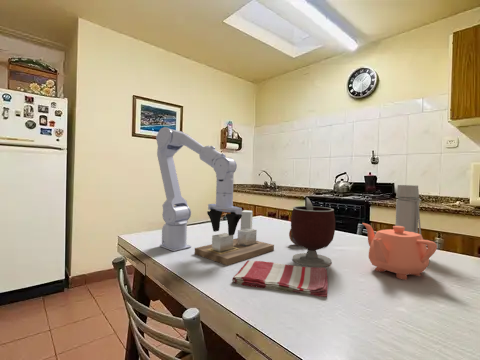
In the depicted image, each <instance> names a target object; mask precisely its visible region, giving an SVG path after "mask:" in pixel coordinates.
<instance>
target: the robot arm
mask: <svg viewBox="0 0 480 360" xmlns="http://www.w3.org/2000/svg"><path fill="white" fill-rule="evenodd" d="M155 139H156V144H157V150H156V157H157V161H158V166H159V169H160V174H161V179H162V184H163V188H164V193H165V198H166V200H165V201H164V202H163V204H162V213H161V214H162V219H163V221H164V224H163V226H162V228H161V244H159V247H161V248H164V249H167V250H170V251H172V252H174V251H175V252H177V251H180V250H185V249H190V248H192V245H189V244H187V238H188V237H187V235H188V232H187V231H188V224H187V223H189V220H190V218H191V217H192V216H191V215H192V210H191V208H190V206H189V205H188V201H187V200H186V199H185V198H184V197H183V196H182V193H181V192H182V191H181V188H180V183H179V179H178V173H177V169H176V165H175V161H174V156H175V154H176V153H177V152H179V151H180V150H181V149H182V148H183V147H184V146H185V147H187V148H188V149H189V150H191V151H193V152H194V153H196V154H198V155H199V159H200V160H201V161H202V162H204V163H205V164H206V165H208V166H210V167H211V168H213V171H214V172H215V178H216V182H215V183H216V186H215V190H216V191H215V203H208V204H207V210H208V211H206V214H207V216H208V218H209V219H210V223H211V227H212V231H213V232H219V231H220V225H221V218H222V214H223V213H226V214H225V217H226V221H227V230H228V231H227V234H229V235H230V236H231V235H233V236H234V235H235V233H236V230H237V227H238V224H239V222H240V221H241V217H242V211H243V209H242V207H238V206H234V203H233V202H234V173H235V172H236V171H237V162H236V160H235V159H234V158H232V157H226V154H225V153H224V152H222V153H221V152H220V151H218V150H217V149H216V146H214V145H206V146H204V145H203V144H202V143H200V142H199V141H197V140H196V139H195V138H193V137H192V136H190V135H189V134H188V133H185V132H183V131H181V130H176V129H172V128H169V127H166V126H164V127H161V128H160V129H159V130H158V133H157V134H156V136H155Z"/></svg>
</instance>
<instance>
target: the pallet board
mask: <svg viewBox="0 0 480 360" xmlns="http://www.w3.org/2000/svg"><path fill="white" fill-rule="evenodd" d="M273 251H275V244H271V243H267V242H263V241H259V240H256V244H254V245H251V246H247V247H244V246H241V245H238V237H237V238H233V250H230V251H226V252H223V253H219V252H216V251H213V250H212V243H211V244H207V245H206V244H205V245H203V246H202V245H201V246H198V247H194V255H197V256H199V257H202V258H205V259H208V260H211V261H214V262H217V263H219V264H222V265H225V266H229V265H230V266H231V265H233V264H235V263H239V262H242V261H246V260H248V259H252V258H255V257H257V256H261V255H264V254H267V253H270V252H273Z"/></svg>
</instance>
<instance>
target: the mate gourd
mask: <svg viewBox="0 0 480 360" xmlns="http://www.w3.org/2000/svg"><path fill="white" fill-rule="evenodd" d="M305 201H306V204H305V205H304V206H303V205H301V206H300V205H299V206H293V207H292V211H291V212H292V213H291V217H290V229H291V231H292V236H293V238H294V240H295V241H296V243H297V244H298V245H300V247H303V248H304V249H306V250H307V251H306V252H305V253H304V252H301V253H297V254H293V255H292V261H293V262H294V263H296V264H298V265H301V266H303V267H316V268H321V267H324V268H326V267H329V266H330V265H332V262H333V261H332V259H331V258H329V256H326V255H321V254H318V252H317V250H321V249H325V248H327V247H328V246H330V244H331V243H332V241H334V240H333V239H334V237H335V232H336V217H335V212H334V211H335V209H334V208H331V207H326V206H325V207H324V206H314V205H313V203H312V202H311V200H310V198H308V197H305ZM298 245H297V246H298Z"/></svg>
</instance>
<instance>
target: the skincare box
mask: <svg viewBox="0 0 480 360" xmlns="http://www.w3.org/2000/svg"><path fill="white" fill-rule="evenodd" d="M253 215H254V214H253V210H247V209H244V210H242V217H241V218H240V230H242V229H248V228H249V229H253Z"/></svg>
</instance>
